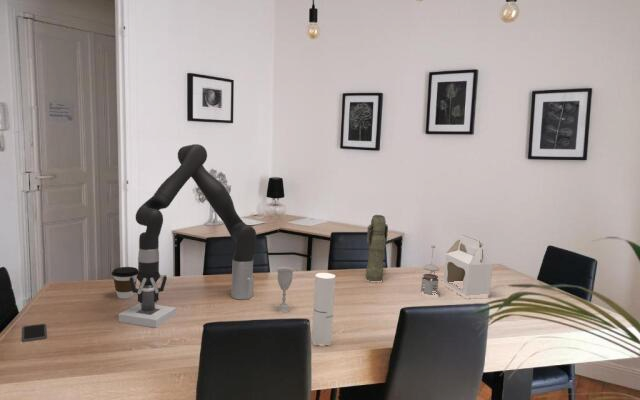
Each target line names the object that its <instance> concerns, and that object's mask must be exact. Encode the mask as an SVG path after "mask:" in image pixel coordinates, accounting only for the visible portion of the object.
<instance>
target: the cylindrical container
mask: <svg viewBox="0 0 640 400" xmlns="http://www.w3.org/2000/svg"><path fill="white" fill-rule="evenodd" d="M314 278H315V279H314V293H313V294H314V295H313V296H314V297H313V311H312V312H313V313H312V327H311V328H312V329H311V343H312V342H313V343H315V344H323V345H325V344H329V343H331V344H332V340H333V339H332V335H333V334H332V333H333V323H334V321H333V319H334V306H335V305H334V304H335V289H336V275H335V274H334V273H330V272H318V273H315V277H314Z"/></svg>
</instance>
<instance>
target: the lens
mask: <svg viewBox="0 0 640 400" xmlns="http://www.w3.org/2000/svg"><path fill="white" fill-rule="evenodd" d="M141 294H142V298H141V310H142V311H153V310H154V309H155V305H156V302H155V288H153V285H144V286H143V289H142V291H141Z"/></svg>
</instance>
